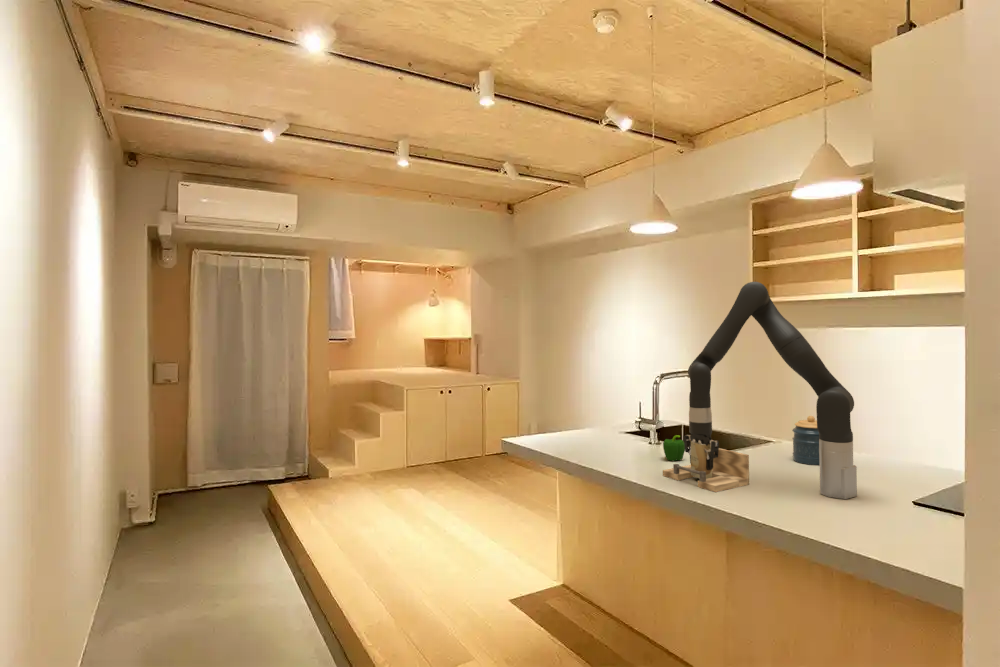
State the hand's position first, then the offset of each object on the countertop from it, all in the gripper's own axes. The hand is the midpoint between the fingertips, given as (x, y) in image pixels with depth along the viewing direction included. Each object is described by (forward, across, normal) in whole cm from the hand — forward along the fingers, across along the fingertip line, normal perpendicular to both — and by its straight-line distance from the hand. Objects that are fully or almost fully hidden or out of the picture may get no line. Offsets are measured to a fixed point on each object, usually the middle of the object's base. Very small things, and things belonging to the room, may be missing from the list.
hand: (701, 467), depth 202 cm
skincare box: (+3, 0, 0) cm, 3 cm away
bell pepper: (+5, +27, -13) cm, 31 cm away
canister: (+5, -4, -54) cm, 55 cm away
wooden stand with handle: (+5, 0, -1) cm, 5 cm away
